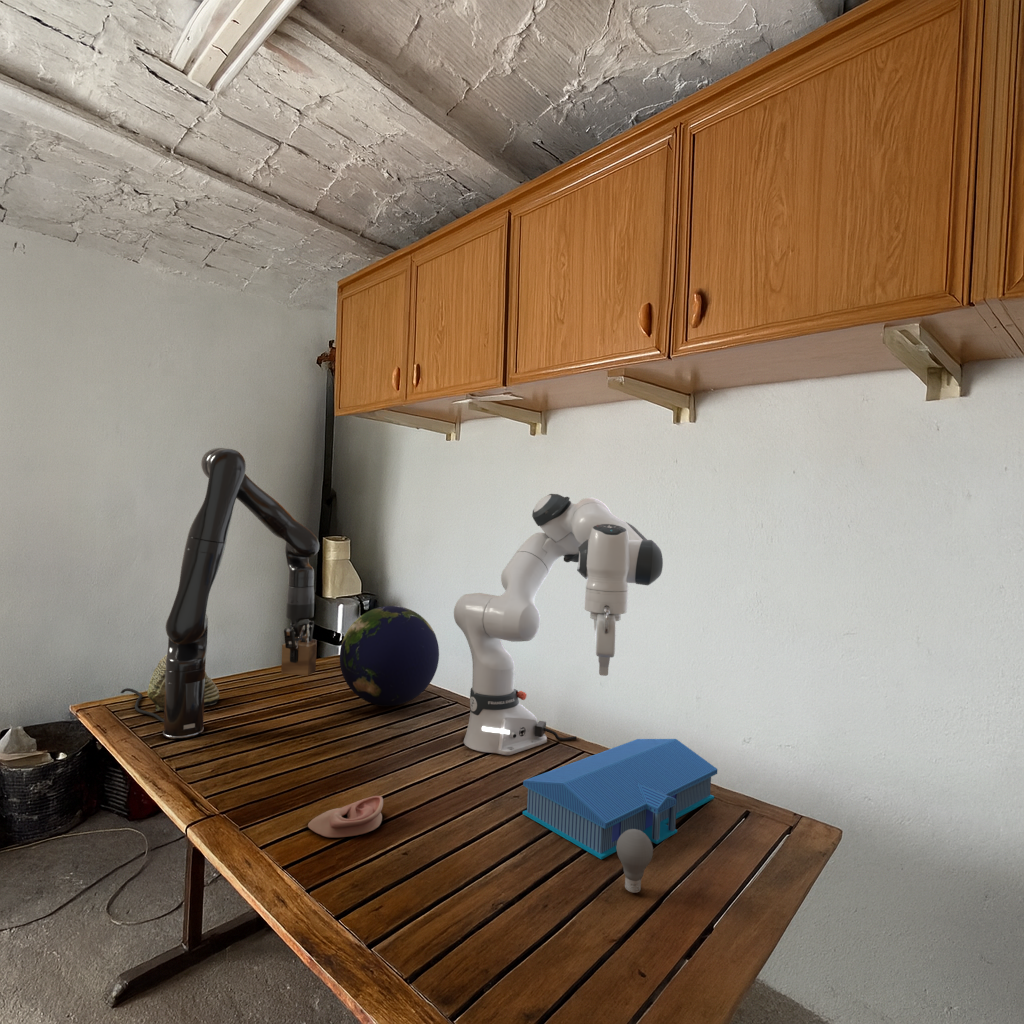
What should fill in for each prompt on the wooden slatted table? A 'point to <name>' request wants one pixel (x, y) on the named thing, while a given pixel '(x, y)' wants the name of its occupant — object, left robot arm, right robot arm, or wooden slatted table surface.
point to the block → (300, 660)
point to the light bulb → (634, 857)
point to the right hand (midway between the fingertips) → (602, 668)
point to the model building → (621, 793)
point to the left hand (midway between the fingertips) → (298, 659)
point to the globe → (389, 655)
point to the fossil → (158, 687)
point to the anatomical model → (349, 819)
